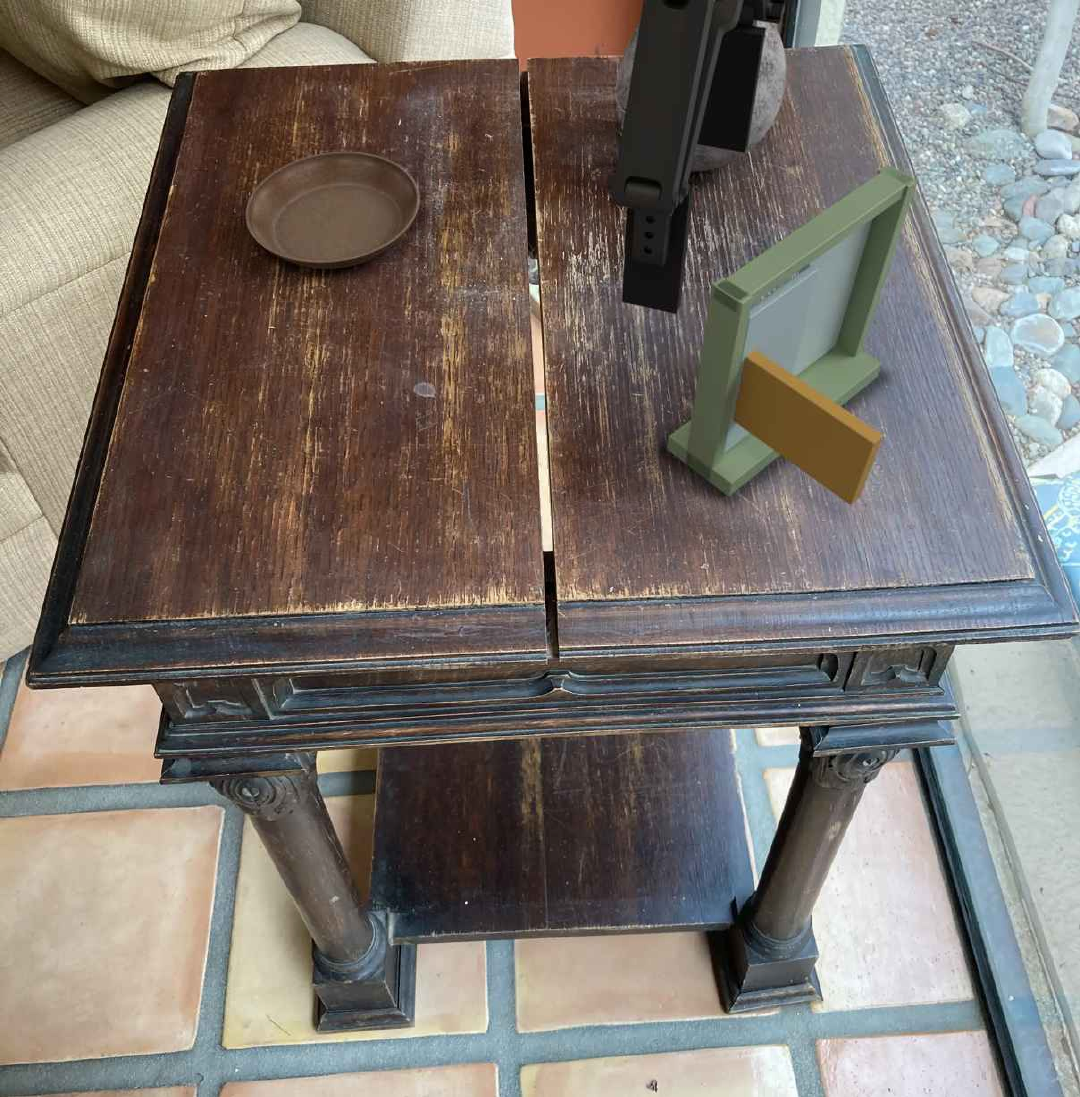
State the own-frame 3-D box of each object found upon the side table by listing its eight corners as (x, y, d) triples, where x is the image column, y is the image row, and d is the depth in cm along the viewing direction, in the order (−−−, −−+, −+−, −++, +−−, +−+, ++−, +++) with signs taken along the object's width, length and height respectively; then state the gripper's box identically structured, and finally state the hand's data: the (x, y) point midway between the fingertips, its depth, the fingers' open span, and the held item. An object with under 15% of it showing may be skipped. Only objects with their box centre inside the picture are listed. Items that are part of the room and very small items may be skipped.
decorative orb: (601, 116, 100) (607, -47, 88) (749, 104, 101) (776, -59, 89) (627, 212, 92) (637, 47, 80) (788, 198, 93) (823, 32, 81)
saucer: (295, 309, 85) (287, 283, 83) (226, 213, 93) (218, 187, 91) (453, 245, 90) (450, 218, 88) (376, 158, 97) (371, 132, 95)
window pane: (897, 485, 72) (953, 350, 61) (836, 538, 69) (884, 407, 59) (778, 402, 76) (811, 264, 66) (716, 449, 74) (742, 313, 63)
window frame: (877, 377, 80) (941, 192, 67) (728, 497, 74) (766, 319, 60) (815, 337, 83) (865, 151, 69) (666, 449, 76) (689, 269, 63)
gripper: (728, -399, 44) (683, 79, 61) (518, -166, 31) (536, 364, 48) (909, -387, 42) (811, 101, 60) (772, -134, 29) (696, 403, 46)
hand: (689, 219), depth 54 cm, fingers open, 13 cm apart
